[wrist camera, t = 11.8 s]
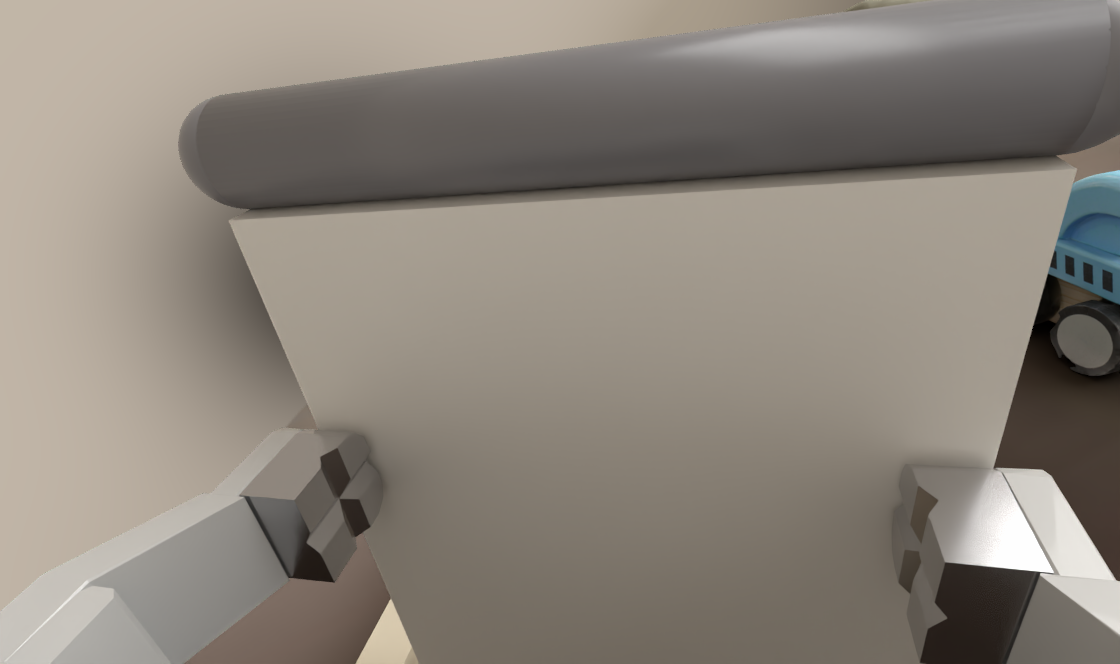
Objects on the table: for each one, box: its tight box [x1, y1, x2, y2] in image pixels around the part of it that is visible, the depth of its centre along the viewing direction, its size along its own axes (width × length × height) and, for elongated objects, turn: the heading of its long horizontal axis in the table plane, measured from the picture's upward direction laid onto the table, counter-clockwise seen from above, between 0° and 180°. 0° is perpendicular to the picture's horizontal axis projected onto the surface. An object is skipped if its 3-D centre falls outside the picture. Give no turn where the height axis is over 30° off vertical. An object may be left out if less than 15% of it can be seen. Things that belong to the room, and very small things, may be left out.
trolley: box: [178, 0, 1120, 664], centre depth 17 cm, size 14×12×22 cm
